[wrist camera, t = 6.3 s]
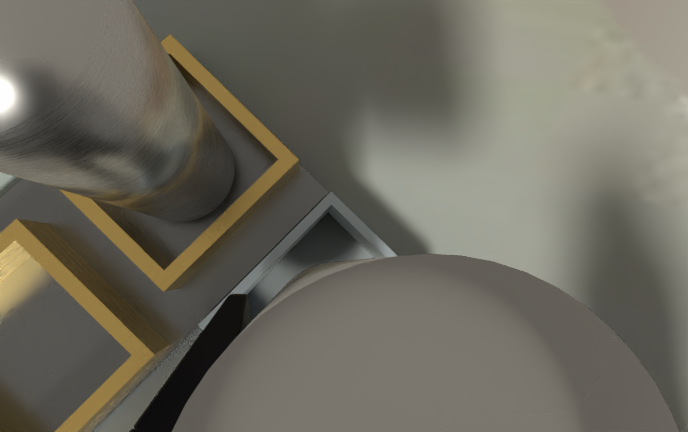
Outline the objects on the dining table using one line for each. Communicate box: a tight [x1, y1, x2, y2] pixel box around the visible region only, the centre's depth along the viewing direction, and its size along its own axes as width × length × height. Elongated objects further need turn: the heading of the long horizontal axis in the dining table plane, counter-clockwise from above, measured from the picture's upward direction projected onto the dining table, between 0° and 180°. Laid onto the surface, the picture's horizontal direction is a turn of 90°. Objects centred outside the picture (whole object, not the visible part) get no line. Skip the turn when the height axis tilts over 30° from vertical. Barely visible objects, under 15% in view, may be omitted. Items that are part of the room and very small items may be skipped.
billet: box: [172, 254, 680, 432], centre depth 10 cm, size 5×5×13 cm
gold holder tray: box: [0, 34, 329, 432], centre depth 19 cm, size 18×10×3 cm, turn 136°
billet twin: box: [0, 0, 235, 222], centre depth 13 cm, size 5×5×13 cm
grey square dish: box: [198, 191, 397, 330], centre depth 19 cm, size 8×8×3 cm
